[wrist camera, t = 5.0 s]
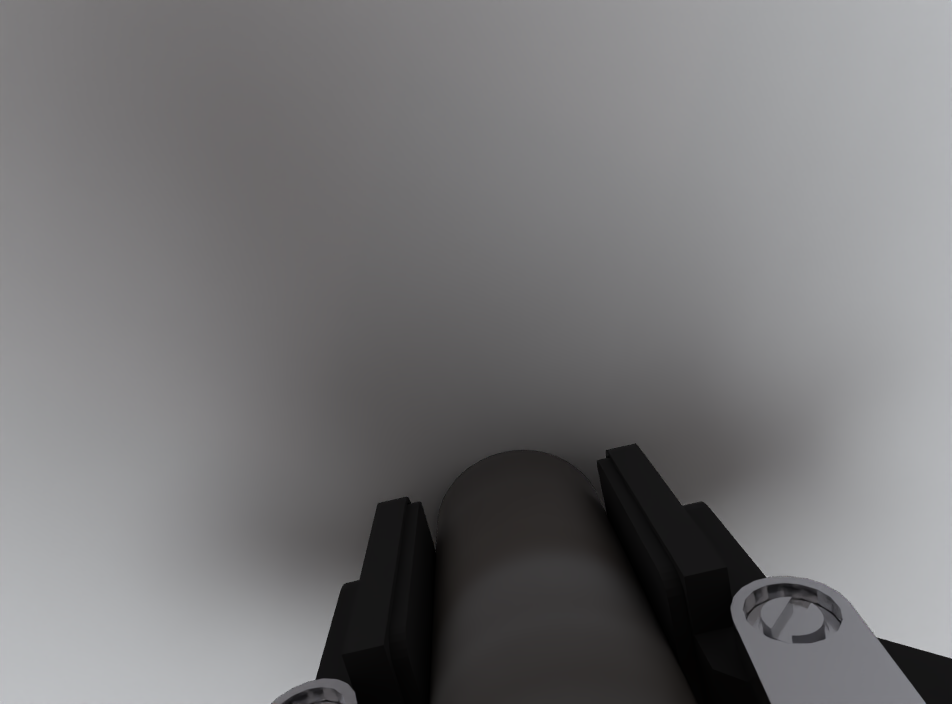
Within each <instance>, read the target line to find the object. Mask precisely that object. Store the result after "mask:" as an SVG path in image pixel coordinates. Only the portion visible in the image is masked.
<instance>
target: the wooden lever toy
mask: <svg viewBox="0 0 952 704" xmlns="http://www.w3.org/2000/svg"><path fill="white" fill-rule="evenodd" d="M429 704H698V703H697V701H696V698H695V696H694V694H693V692H692V690H691V688H690V686H689V684H688V682H687V680H686V678H685V676H684V674H683V672H682V669H681V667H680V665H679V663H678V661H677V659H676V657H675V655H674V653H673V651H672V649H671V647H670V645H669V643H668V640H667V638H666V636H665V634H664V632H663V630H662V628H661V626H660V624H659V622H658V620H657V618H656V616H655V614H654V611H653V609H652V607H651V605H650V603H649V601H648V599H647V597H646V595H645V593H644V591H643V589H642V587H641V585H640V582H639V580H638V578H637V576H636V574H635V572H634V570H633V568H632V566H631V564H630V562H629V560H628V558H627V556H626V554H625V551H624V549H623V547H622V545H621V543H620V541H619V539H618V537H617V535H616V533H615V531H614V529H613V527H612V525H611V522H610V520H609V518H608V516H607V514H606V512H605V510H604V508H603V506H602V504H601V502H600V500H599V498H598V496H597V493H596V491H595V490H594V488H593V486H592V485H591V483H590V482H589V481H588V479H587V478H586V477H585V476H584V475H583V474H582V473H581V472H580V471H579V470H578V469H577V468H575V467H574V466H573V465H571V464H570V463H568V462H567V461H565V460H563V459H560V458H558V457H556V456H553V455H550V454H547V453H543V452H538V451H529V450H518V451H509V452H503V453H499V454H496V455H493V456H490V457H488V458H485V459H483V460H481V461H479V462H478V463H476V464H474V465H473V466H471V467H470V468H468V469H467V470H466V471H465V472H463V473H462V474H461V475H460V476H459V477H458V478H457V479H456V480H455V482H454V483H453V484H452V486H451V487H450V488H449V490H448V492H447V494H446V495H445V497H444V499H443V502H442V504H441V507H440V511H439V515H438V522H437V540H436V563H435V586H434V608H433V631H432V653H431V676H430V698H429Z"/></svg>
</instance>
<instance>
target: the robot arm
mask: <svg viewBox="0 0 952 704" xmlns="http://www.w3.org/2000/svg"><path fill="white" fill-rule="evenodd" d="M597 467H598V472H599V477H600V482H601V487H602V492H603V497H604V502H605V507H606V512H607V516H608V518H609V520H610V522H611V525H612V527H613V529H614V531H615V533H616V535H617V537H618V539H619V541H620V543H621V545H622V547H623V549H624V551H625V554H626V556H627V558H628V560H629V562H630V564H631V566H632V568H633V570H634V572H635V574H636V576H637V578H638V580H639V582H640V585H641V587H642V589H643V591H644V593H645V595H646V597H647V599H648V601H649V603H650V605H651V607H652V609H653V611H654V614H655V616H656V618H657V620H658V622H659V624H660V626H661V628H662V630H663V632H664V634H665V636H666V638H667V640H668V643H669V645H670V647H671V649H672V651H673V653H674V655H675V657H676V659H677V661H678V663H679V665H680V667H681V669H682V672H683V674H684V676H685V678H686V680H687V682H688V684H689V686H690V688H691V690H692V692H693V694H694V696H695V698H696V701H697V703H698V704H952V659H951V658H948V657H944V656H940V655H937V654H933V653H930V652H926V651H923V650H919V649H916V648H912V647H908V646H905V645H901V644H898V643H894V642H891V641H887V640H884V639H880V638H876V636H875V635H874V634H873V632H872V631H871V630H870V628H869V627H868V626H867V624H866V623H865V622H864V620H863V619H862V618H861V616H860V615H859V614H858V612H857V611H856V610H855V608H854V607H853V606H852V604H851V603H850V602H849V601H848V600H847V599H846V598H845V597H844V596H843V595H842V594H841V593H840V592H838V591H836V590H834V589H832V588H831V587H829V586H827V585H825V584H823V583H820V582H817V581H813V580H810V579H807V578H800V577H793V576H776V577H767V578H766V576H765V575H764V574H763V573H762V572H761V570H760V569H759V568H758V567H757V565H756V564H755V563H754V562H753V561H752V559H751V558H750V557H749V556H748V554H747V553H746V552H745V551H744V550H743V548H742V547H741V546H740V545H739V543H738V542H737V541H736V540H735V539H734V537H733V536H732V535H731V534H730V532H729V531H728V530H727V529H726V528H725V526H724V525H723V524H722V523H721V521H720V520H719V519H718V518H717V517H716V515H715V514H714V513H713V512H712V510H711V509H710V508H709V507H708V506H707V505H706V504H705V503H704V502H697V503H692V504H688V505H684V506H682V505H681V504H680V502H679V501H678V499H677V498H676V497H675V495H674V494H673V493H672V491H671V490H670V489H669V487H668V486H667V485H666V483H665V482H664V480H663V479H662V478H661V476H660V475H659V474H658V472H657V471H656V470H655V468H654V467H653V466H652V464H651V463H650V461H649V460H648V459H647V457H646V456H645V455H644V453H643V452H642V451H641V449H640V448H639V447H638V445H637V444H636V443H635V444H631V445H627V446H622V447H618V448H614V449H610V450H606V459H601V460H597ZM435 563H436V552H435V548H434V544H433V541H432V537H431V534H430V530H429V527H428V523H427V520H426V516H425V512H424V509H423V506H422V504H421V502H416V503H412V504H411V501H410V499H409V498H408V497H403V498H399V499H394V500H390V501H386V502H381V503H378V505H377V509H376V513H375V517H374V521H373V526H372V530H371V534H370V538H369V542H368V546H367V550H366V555H365V559H364V563H363V567H362V571H361V575H360V580H357V581H353V582H349V583H345V584H344V585H343V586H342V588H341V591H340V594H339V598H338V602H337V605H336V609H335V612H334V616H333V619H332V623H331V626H330V630H329V634H328V637H327V641H326V644H325V648H324V651H323V655H322V658H321V662H320V666H319V669H318V673H317V676H316V680H313V681H308V682H306V683H303V684H301V685H299V686H296V687H294V688H292V689H290V690H289V691H287V692H286V693H284V694H282V695H281V696H279V697H278V698H276V699H275V700H274V701H273V702H272V703H271V704H429V698H430V676H431V653H432V631H433V608H434V586H435Z"/></svg>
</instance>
